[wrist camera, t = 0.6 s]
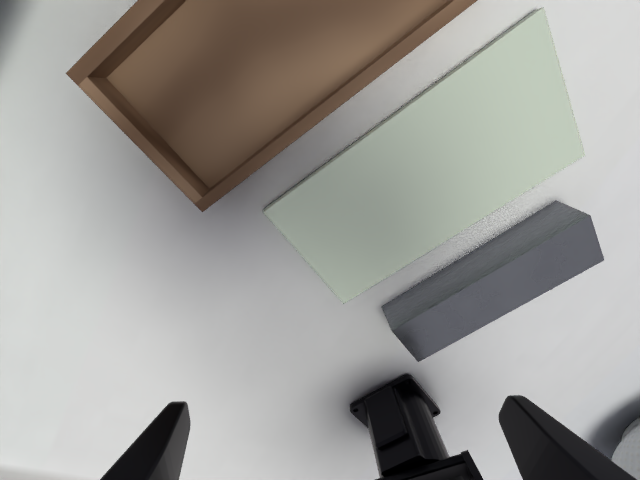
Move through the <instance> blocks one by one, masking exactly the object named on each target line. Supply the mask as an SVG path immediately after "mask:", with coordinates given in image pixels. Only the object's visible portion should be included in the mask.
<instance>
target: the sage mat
mask: <svg viewBox="0 0 640 480" xmlns="http://www.w3.org/2000/svg"><path fill="white" fill-rule="evenodd" d="M584 156H585V153H584V150H583V146H582V142H581V139H580V135H579V132H578V128H577V125H576V121H575V117H574V114H573V110H572V107H571V103H570V100H569V96H568V92H567V89H566V85H565V82H564V78H563V75H562V71H561V67H560V64H559V60H558V57H557V53H556V50H555V46H554V42H553V39H552V35H551V32H550V28H549V25H548V21H547V17H546V14H545V10H544V7H543V8H540V9H537V10H534V11H533V12H532V13H530V14H529V15H528V16H526V17H525V18H523V19H522V20H521V21H519V22H518V23H517V24H515V25H514V26H513V27H511V28H510V29H508V30H507V31H506V32H504V33H503V34H502V35H500V36H499V37H498V38H496V39H495V40H494V41H492V42H491V43H489V44H488V45H487V46H485V47H484V48H483V49H481V50H480V51H479V52H477V53H476V54H474V55H473V56H472V57H470V58H469V59H468V60H466V61H465V62H464V63H462V64H461V65H459V66H458V67H457V68H455V69H454V70H453V71H451V72H450V73H449V74H447V75H446V76H444V77H443V78H442V79H440V80H439V81H438V82H436V83H435V84H434V85H432V86H431V87H429V88H428V89H427V90H425V91H424V92H423V93H421V94H420V95H419V96H417V97H416V98H414V99H413V100H412V101H410V102H409V103H408V104H406V105H405V106H404V107H402V108H401V109H399V110H398V111H397V112H395V113H394V114H393V115H391V116H390V117H389V118H387V119H386V120H384V121H383V122H382V123H380V124H379V125H378V126H376V127H375V128H374V129H372V130H371V131H370V132H368V133H367V134H365V135H364V136H363V137H361V138H360V139H359V140H357V141H356V142H355V143H353V144H352V145H350V146H349V147H348V148H346V149H345V150H344V151H342V152H341V153H340V154H338V155H337V156H335V157H334V158H333V159H331V160H330V161H329V162H327V163H326V164H325V165H323V166H322V167H320V168H319V169H318V170H316V171H315V172H314V173H312V174H311V175H310V176H308V177H307V178H305V179H304V180H303V181H301V182H300V183H299V184H297V185H296V186H295V187H293V188H292V189H290V190H289V191H288V192H286V193H285V194H284V195H282V196H281V197H280V198H278V199H277V200H275V201H274V202H273V203H271V204H270V205H269V206H267V207H266V208H265V209H264V211H263V213H264V214H265V215H266V216H267V218H268V219H269V220H270V221H271V222H272V223H273V224H274V226H275V227H276V228H277V229H278V230H279V231H280V232H281V234H282V235H283V236H284V237H285V238H286V239H287V240H288V242H289V243H290V244H291V245H292V246H293V247H294V248H295V250H296V251H297V252H298V253H299V254H300V255H301V256H302V257H303V259H304V260H305V261H306V262H307V263H308V264H309V265H310V267H311V268H312V269H313V270H314V271H315V272H316V273H317V275H318V276H319V277H320V278H321V279H322V280H323V281H324V283H325V284H326V285H327V286H328V287H329V288H330V289H331V291H332V292H333V293H334V294H335V295H336V296H337V297H338V299H339V300H340V301H341V302H342V303H343V304H345V303H346V302H348V301H350V300H351V299H353V298H354V297H356V296H358V295H359V294H361V293H363V292H364V291H366V290H367V289H369V288H371V287H372V286H374V285H376V284H377V283H379V282H380V281H382V280H384V279H385V278H387V277H389V276H390V275H392V274H393V273H395V272H397V271H398V270H400V269H402V268H403V267H405V266H406V265H408V264H410V263H411V262H413V261H415V260H416V259H418V258H419V257H421V256H423V255H424V254H426V253H428V252H429V251H431V250H432V249H434V248H436V247H437V246H439V245H441V244H442V243H444V242H445V241H447V240H449V239H450V238H452V237H454V236H455V235H457V234H458V233H460V232H462V231H463V230H465V229H467V228H468V227H470V226H471V225H473V224H475V223H476V222H478V221H480V220H481V219H483V218H484V217H486V216H488V215H489V214H491V213H493V212H494V211H496V210H497V209H499V208H501V207H502V206H504V205H506V204H507V203H509V202H510V201H512V200H514V199H515V198H517V197H519V196H520V195H522V194H523V193H525V192H527V191H528V190H530V189H532V188H533V187H535V186H536V185H538V184H540V183H541V182H543V181H545V180H546V179H548V178H549V177H551V176H553V175H554V174H556V173H558V172H559V171H561V170H562V169H564V168H566V167H567V166H569V165H571V164H572V163H574V162H575V161H577V160H579V159H580V158H582V157H584Z"/></svg>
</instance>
